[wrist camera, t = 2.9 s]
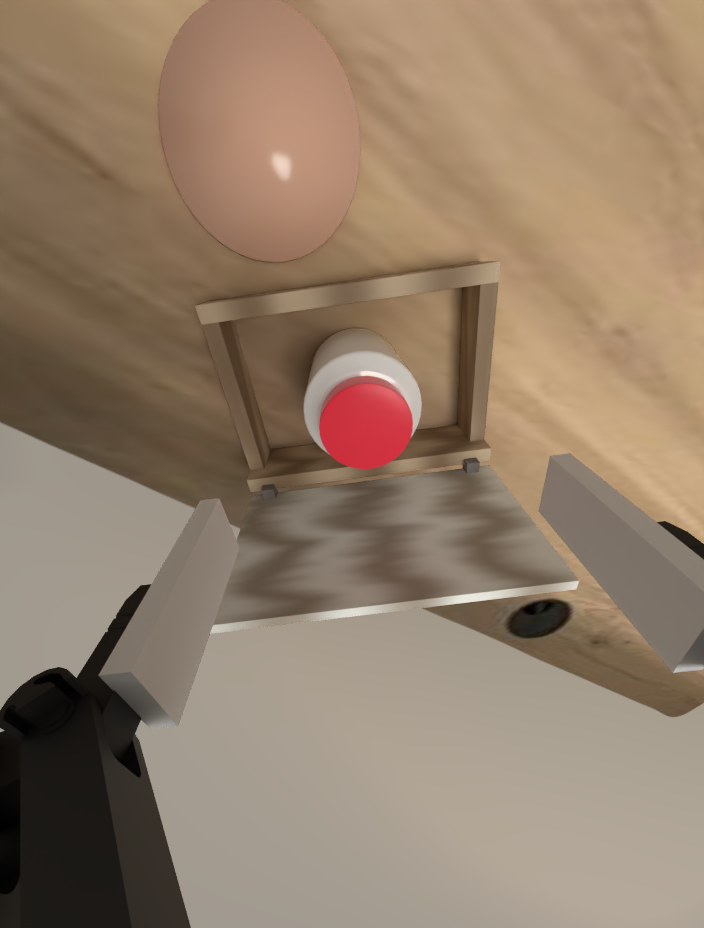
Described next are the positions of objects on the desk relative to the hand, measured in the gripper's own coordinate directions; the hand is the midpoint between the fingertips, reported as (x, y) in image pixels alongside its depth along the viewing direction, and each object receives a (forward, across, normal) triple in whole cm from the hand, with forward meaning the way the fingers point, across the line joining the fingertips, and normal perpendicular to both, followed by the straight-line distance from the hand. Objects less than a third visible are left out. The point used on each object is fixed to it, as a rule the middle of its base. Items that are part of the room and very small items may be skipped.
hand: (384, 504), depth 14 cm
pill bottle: (+18, 0, 0) cm, 18 cm away
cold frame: (+18, 0, 0) cm, 18 cm away
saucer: (+18, -4, +15) cm, 24 cm away
